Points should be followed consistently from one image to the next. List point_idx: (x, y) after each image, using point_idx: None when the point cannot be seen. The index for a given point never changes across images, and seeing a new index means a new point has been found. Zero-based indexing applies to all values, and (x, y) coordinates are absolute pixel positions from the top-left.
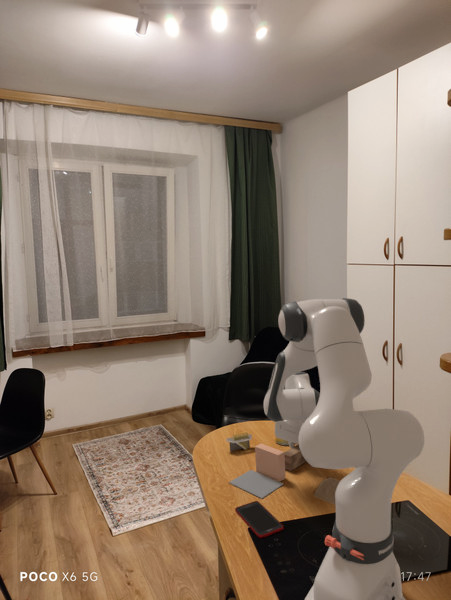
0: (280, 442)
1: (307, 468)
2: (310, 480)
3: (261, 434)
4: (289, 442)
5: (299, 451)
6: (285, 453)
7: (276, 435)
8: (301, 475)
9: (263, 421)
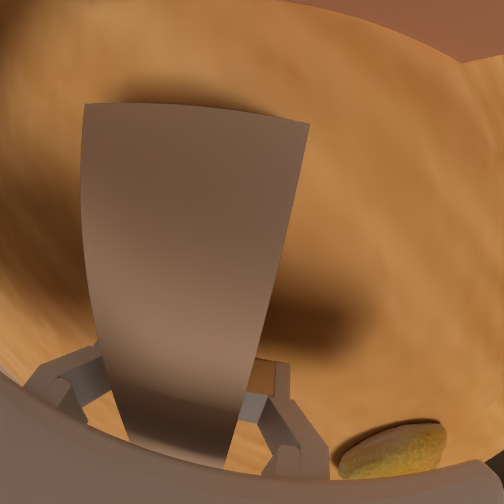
0: (419, 433)
1: None
2: (30, 103)
3: (492, 427)
4: (311, 466)
5: (100, 343)
6: (240, 175)
7: (485, 477)
8: None
9: None
